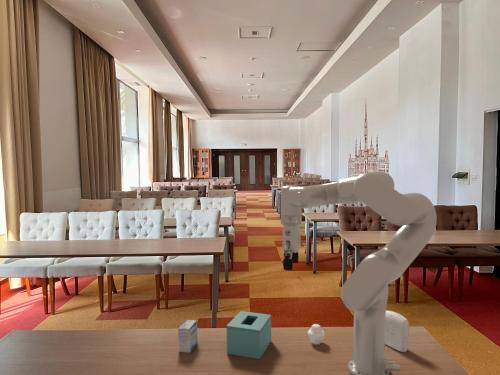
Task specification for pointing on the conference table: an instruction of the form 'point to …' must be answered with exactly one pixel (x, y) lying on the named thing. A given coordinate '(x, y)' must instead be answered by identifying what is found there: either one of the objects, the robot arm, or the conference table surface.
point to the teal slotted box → (249, 334)
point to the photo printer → (396, 331)
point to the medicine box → (187, 336)
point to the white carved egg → (316, 334)
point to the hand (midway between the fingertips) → (291, 266)
